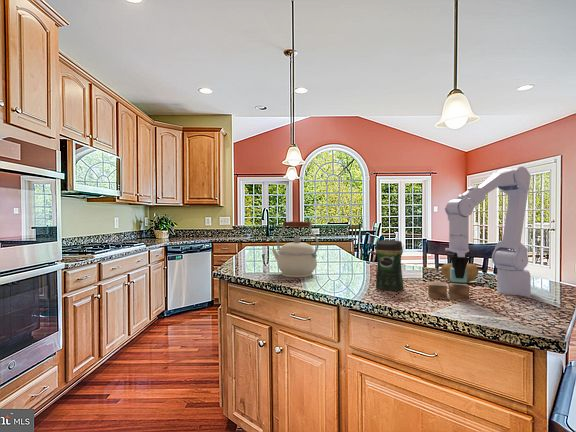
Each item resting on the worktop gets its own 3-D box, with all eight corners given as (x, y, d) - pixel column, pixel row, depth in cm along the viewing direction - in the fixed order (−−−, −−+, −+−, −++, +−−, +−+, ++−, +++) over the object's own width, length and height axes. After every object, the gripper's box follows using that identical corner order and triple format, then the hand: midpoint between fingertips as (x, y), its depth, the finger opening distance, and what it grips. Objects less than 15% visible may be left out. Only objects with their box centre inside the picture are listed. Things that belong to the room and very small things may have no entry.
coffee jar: (405, 289, 129) (405, 239, 129) (399, 293, 122) (399, 241, 122) (379, 286, 134) (379, 238, 134) (373, 290, 127) (373, 240, 127)
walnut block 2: (466, 296, 115) (466, 284, 115) (469, 299, 110) (469, 287, 110) (448, 294, 117) (448, 283, 117) (450, 298, 112) (450, 286, 112)
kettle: (327, 274, 162) (327, 221, 162) (308, 280, 147) (307, 221, 147) (282, 269, 176) (282, 220, 176) (260, 275, 160) (260, 221, 160)
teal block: (464, 280, 115) (464, 268, 115) (466, 282, 111) (466, 270, 111) (450, 279, 117) (450, 267, 117) (451, 281, 112) (451, 269, 112)
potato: (442, 278, 150) (442, 260, 150) (479, 282, 143) (479, 262, 143) (438, 282, 142) (438, 263, 142) (477, 286, 135) (477, 265, 135)
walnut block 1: (445, 294, 118) (445, 282, 118) (446, 298, 113) (446, 286, 113) (428, 293, 120) (428, 281, 120) (428, 296, 114) (428, 284, 114)
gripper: (443, 234, 122) (443, 272, 122) (447, 236, 108) (447, 279, 108) (466, 234, 119) (466, 273, 120) (472, 237, 106) (472, 281, 106)
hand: (458, 276), depth 114 cm, fingers closed on teal block, 4 cm apart
